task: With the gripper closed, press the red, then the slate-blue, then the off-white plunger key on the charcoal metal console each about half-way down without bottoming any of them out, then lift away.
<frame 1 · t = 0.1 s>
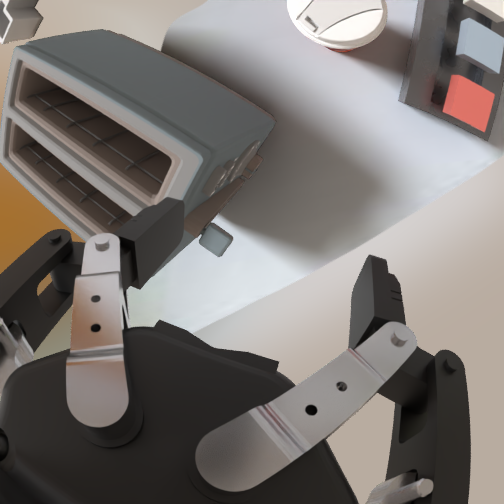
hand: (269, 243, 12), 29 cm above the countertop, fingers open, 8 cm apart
toaster: (174, 122, 41), on the countertop
console: (455, 50, 24), on the countertop
slate-blue key: (475, 47, 18), point 7 cm above the countertop, slide at 0.0 cm
red key: (464, 101, 22), point 7 cm above the countertop, slide at 0.0 cm
coffee cup: (339, 30, 28), on the countertop
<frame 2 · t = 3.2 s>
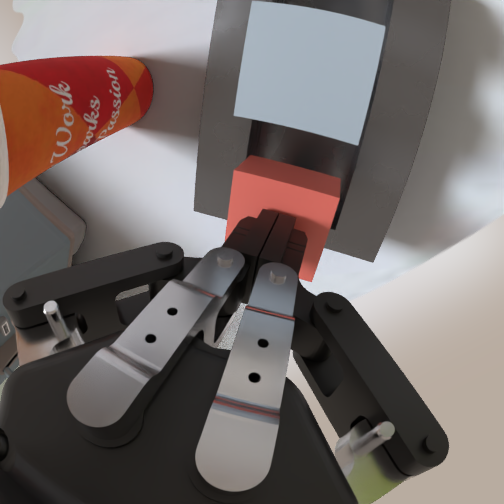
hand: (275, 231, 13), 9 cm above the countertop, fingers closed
toaster: (24, 214, 33), on the countertop
console: (323, 73, 16), on the countertop
slate-blue key: (313, 70, 10), point 7 cm above the countertop, slide at 0.0 cm
red key: (286, 205, 15), point 6 cm above the countertop, slide at 1.0 cm, touching gripper
coffee cup: (126, 90, 20), on the countertop
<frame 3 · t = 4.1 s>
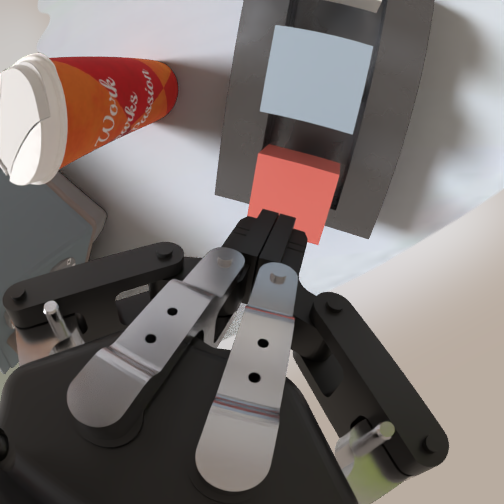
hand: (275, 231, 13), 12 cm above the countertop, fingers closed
toaster: (41, 206, 36), on the countertop
console: (325, 80, 19), on the countertop
slate-blue key: (319, 78, 14), point 7 cm above the countertop, slide at 0.0 cm
red key: (296, 185, 19), point 6 cm above the countertop, slide at 1.3 cm
coffee cup: (152, 90, 23), on the countertop
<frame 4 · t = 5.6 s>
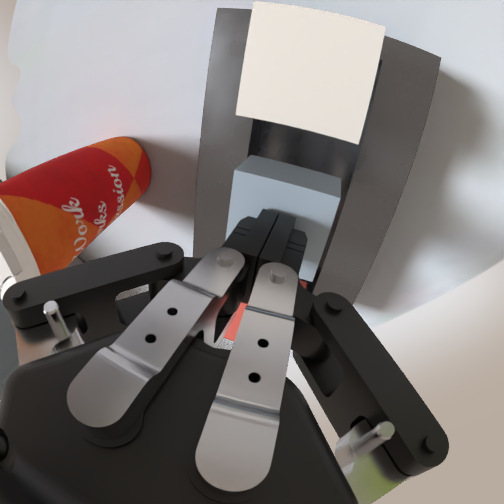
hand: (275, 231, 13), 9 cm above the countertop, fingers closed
toaster: (36, 254, 38), on the countertop
white key: (314, 69, 11), point 7 cm above the countertop, slide at 0.0 cm
console: (302, 170, 20), on the countertop
slate-blue key: (287, 205, 15), point 6 cm above the countertop, slide at 0.8 cm, touching gripper
red key: (265, 296, 20), point 6 cm above the countertop, slide at 1.3 cm
coffee cup: (126, 166, 24), on the countertop
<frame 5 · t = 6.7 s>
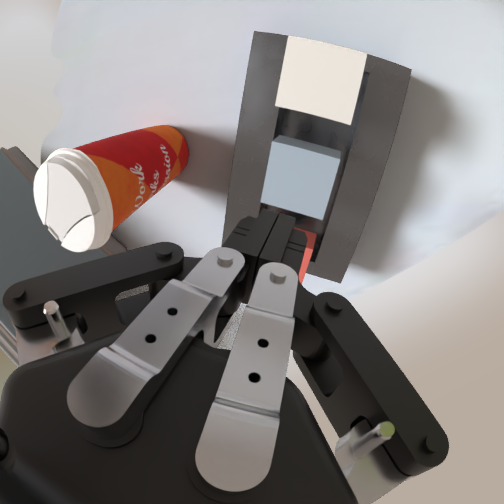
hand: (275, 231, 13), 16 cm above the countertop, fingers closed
toaster: (63, 234, 43), on the countertop
white key: (323, 79, 16), point 7 cm above the countertop, slide at 0.0 cm
console: (311, 154, 26), on the countertop
slate-blue key: (303, 170, 21), point 6 cm above the countertop, slide at 1.3 cm
red key: (284, 247, 25), point 6 cm above the countertop, slide at 1.3 cm
coffee cup: (166, 150, 30), on the countertop
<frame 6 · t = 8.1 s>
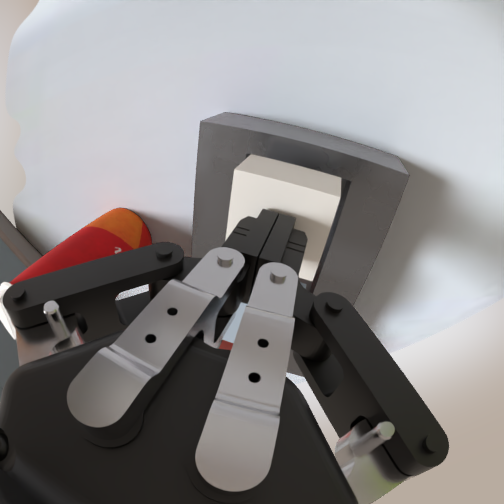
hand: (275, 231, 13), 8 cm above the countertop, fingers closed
toaster: (46, 288, 42), on the countertop
white key: (287, 204, 15), point 6 cm above the countertop, slide at 1.0 cm, touching gripper
console: (282, 252, 24), on the countertop
slate-blue key: (264, 298, 20), point 6 cm above the countertop, slide at 1.3 cm
red key: (249, 357, 24), point 6 cm above the countertop, slide at 1.3 cm
coffee cup: (129, 233, 28), on the countertop
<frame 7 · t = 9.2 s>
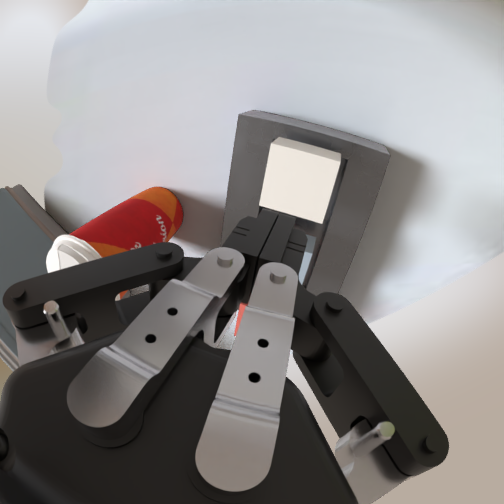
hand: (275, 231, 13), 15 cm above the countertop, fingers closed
toaster: (69, 269, 47), on the countertop
white key: (303, 173, 21), point 6 cm above the countertop, slide at 1.3 cm
console: (294, 222, 30), on the countertop
slate-blue key: (283, 251, 25), point 6 cm above the countertop, slide at 1.3 cm
red key: (267, 309, 29), point 6 cm above the countertop, slide at 1.3 cm
coffee cup: (162, 209, 34), on the countertop
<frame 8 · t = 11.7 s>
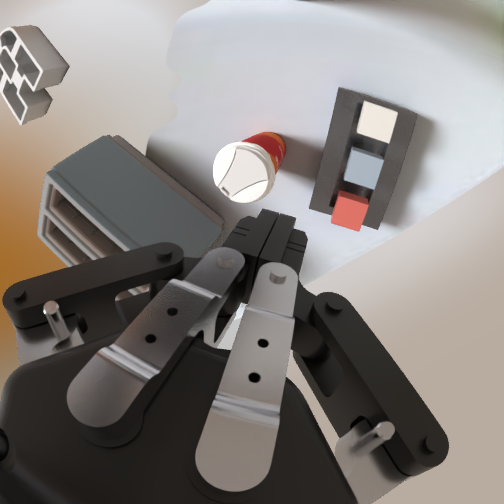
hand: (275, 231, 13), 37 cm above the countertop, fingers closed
toaster: (158, 209, 62), on the countertop
white key: (375, 120, 36), point 6 cm above the countertop, slide at 1.3 cm
console: (360, 155, 44), on the countertop
slate-blue key: (362, 165, 40), point 6 cm above the countertop, slide at 1.3 cm
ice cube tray: (36, 62, 48), on the countertop
red key: (349, 207, 44), point 6 cm above the countertop, slide at 1.3 cm
coffee cup: (268, 148, 48), on the countertop
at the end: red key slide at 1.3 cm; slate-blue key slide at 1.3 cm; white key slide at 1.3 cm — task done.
